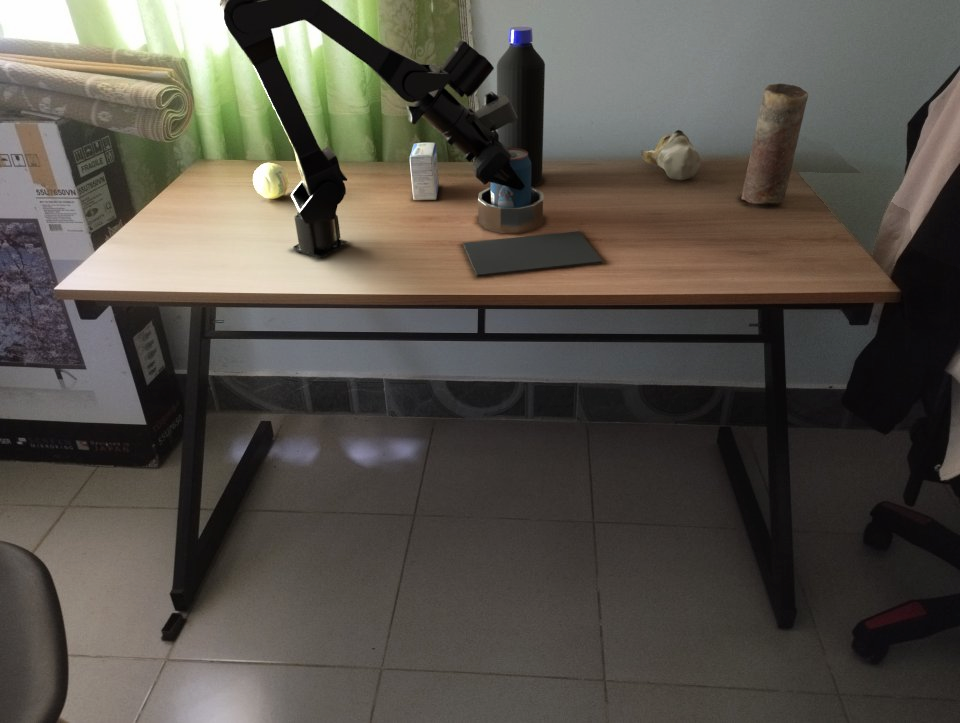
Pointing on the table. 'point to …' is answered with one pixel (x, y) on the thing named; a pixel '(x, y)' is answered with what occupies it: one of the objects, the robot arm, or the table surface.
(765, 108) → the brown tall cylinder
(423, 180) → the medicine box
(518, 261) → the rubber mat
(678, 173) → the ceramic sculpture
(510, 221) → the steel holder
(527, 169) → the soda can
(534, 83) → the bottle
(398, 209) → the table surface
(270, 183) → the tennis ball
